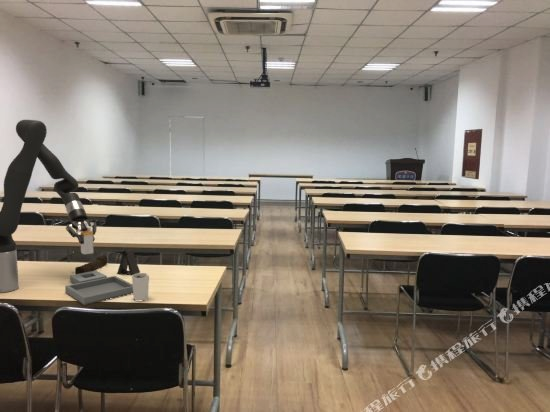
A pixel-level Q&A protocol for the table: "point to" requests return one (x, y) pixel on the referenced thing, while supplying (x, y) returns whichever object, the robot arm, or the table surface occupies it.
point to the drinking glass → (140, 286)
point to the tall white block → (87, 242)
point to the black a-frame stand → (128, 263)
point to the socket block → (86, 277)
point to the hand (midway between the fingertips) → (87, 242)
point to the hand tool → (92, 265)
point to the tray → (99, 289)
